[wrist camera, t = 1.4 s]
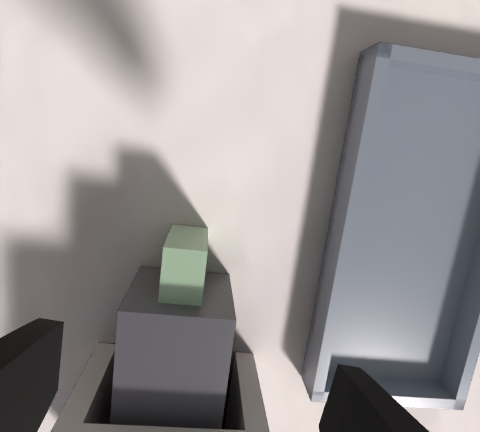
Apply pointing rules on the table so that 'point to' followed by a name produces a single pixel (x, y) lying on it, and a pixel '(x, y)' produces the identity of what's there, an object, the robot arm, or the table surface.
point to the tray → (404, 233)
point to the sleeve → (99, 428)
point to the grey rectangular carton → (174, 340)
